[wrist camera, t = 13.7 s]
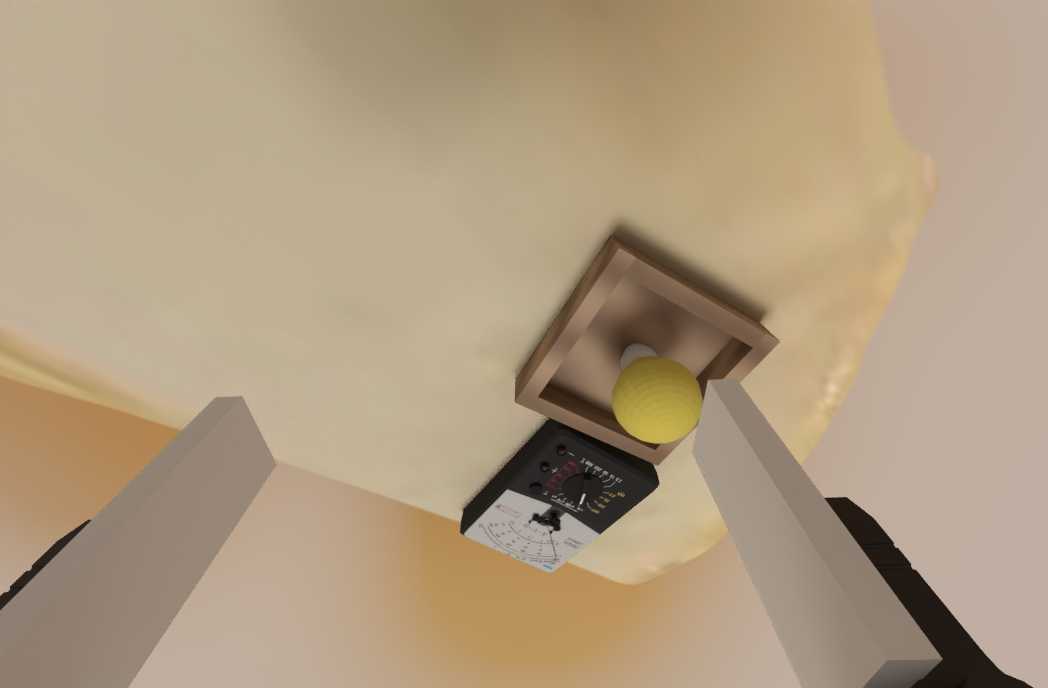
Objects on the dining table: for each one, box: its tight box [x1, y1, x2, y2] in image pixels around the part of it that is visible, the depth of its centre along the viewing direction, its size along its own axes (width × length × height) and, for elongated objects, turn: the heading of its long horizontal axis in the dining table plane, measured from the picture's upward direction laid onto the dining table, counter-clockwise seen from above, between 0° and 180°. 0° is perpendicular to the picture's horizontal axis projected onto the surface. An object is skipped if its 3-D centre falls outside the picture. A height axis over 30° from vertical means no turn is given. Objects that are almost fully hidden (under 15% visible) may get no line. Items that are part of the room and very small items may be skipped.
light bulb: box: [611, 343, 703, 444], centre depth 34 cm, size 7×7×10 cm
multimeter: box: [460, 418, 659, 573], centre depth 46 cm, size 13×19×5 cm
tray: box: [515, 236, 780, 466], centre depth 37 cm, size 16×16×3 cm
